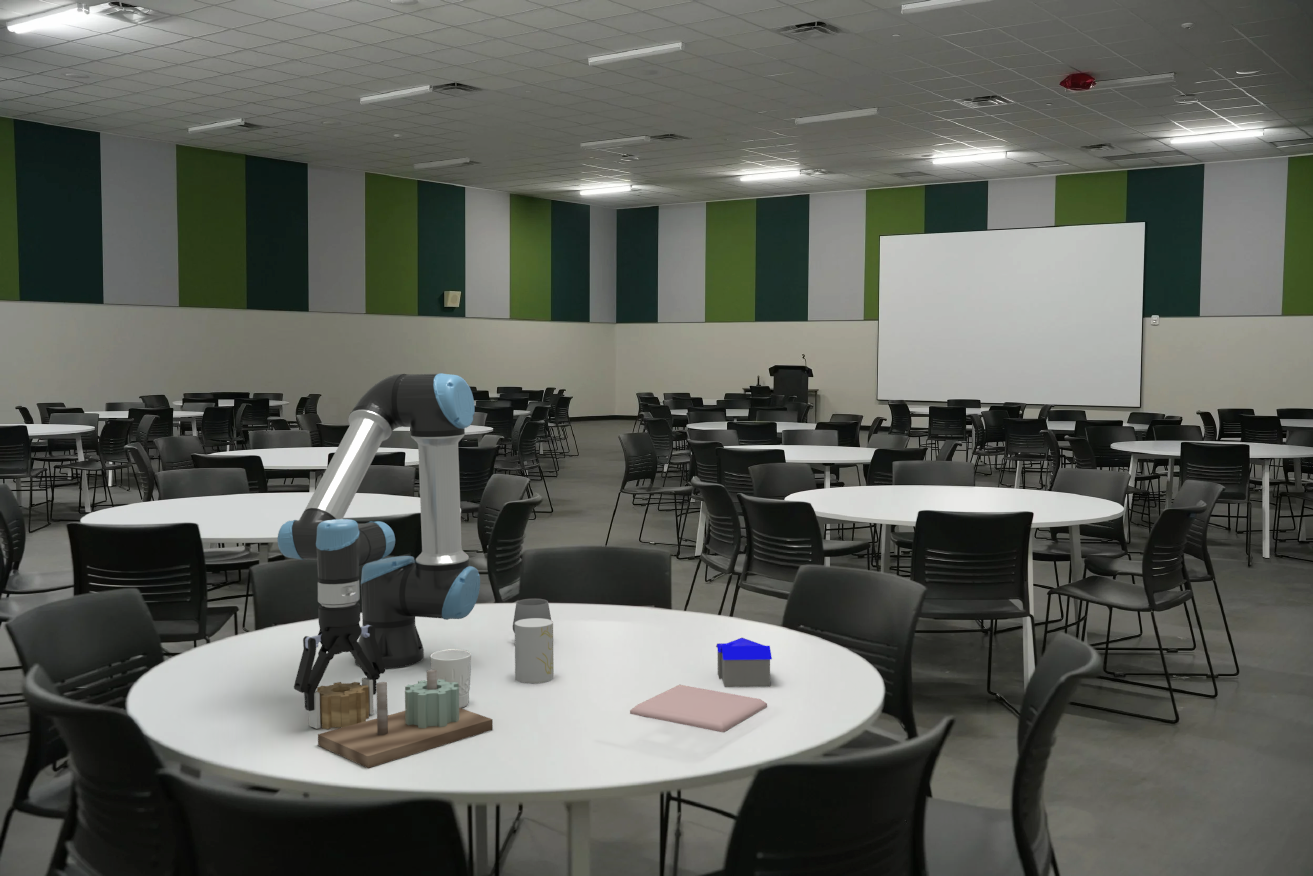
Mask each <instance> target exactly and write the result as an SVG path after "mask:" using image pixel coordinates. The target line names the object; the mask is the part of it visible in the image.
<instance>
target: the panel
mask: <svg viewBox="0 0 1313 876" xmlns="http://www.w3.org/2000/svg"><path fill="white" fill-rule="evenodd" d="M767 707H768V703H767V702H765V701H764V700H762V699H761V698H757V697H751V696H745V695H739V694H735V693H734V694H733V693H728V692H724V691H723V692H722V691H718V690H717V691H716V690H712V689H708V688H707V689H706V688H701V687H695V686H690V685H684V684H678V685H676V686H674V687H672V688H669V689H667V690H666V691H664V692H661V693H659V694H657V695H655V696H652V697H650V698H648V699H646V700H645V701H644V700H643V701H642V702H640V703H637V704H636V705H635V706H634V707H632V708H631V709H630V710H629V714H631V715H635V716H639V717H645V718H650V719H654V720H660V721H665V722H669V723H674V724H679V725H685V726H689V727H695V728H700V729H705V730H708V731H709V730H710V731H713V732H719V733H725V732H726V731H728V730H730V729H732V728H733V727H735V726H737V725H738V724H740V723H742V722H743V721H746V720H747V719H749V718H750V717H753V716H754V715H756V714H757V713H759V712H761V711H762V710H764V709H766V708H767Z"/></svg>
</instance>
